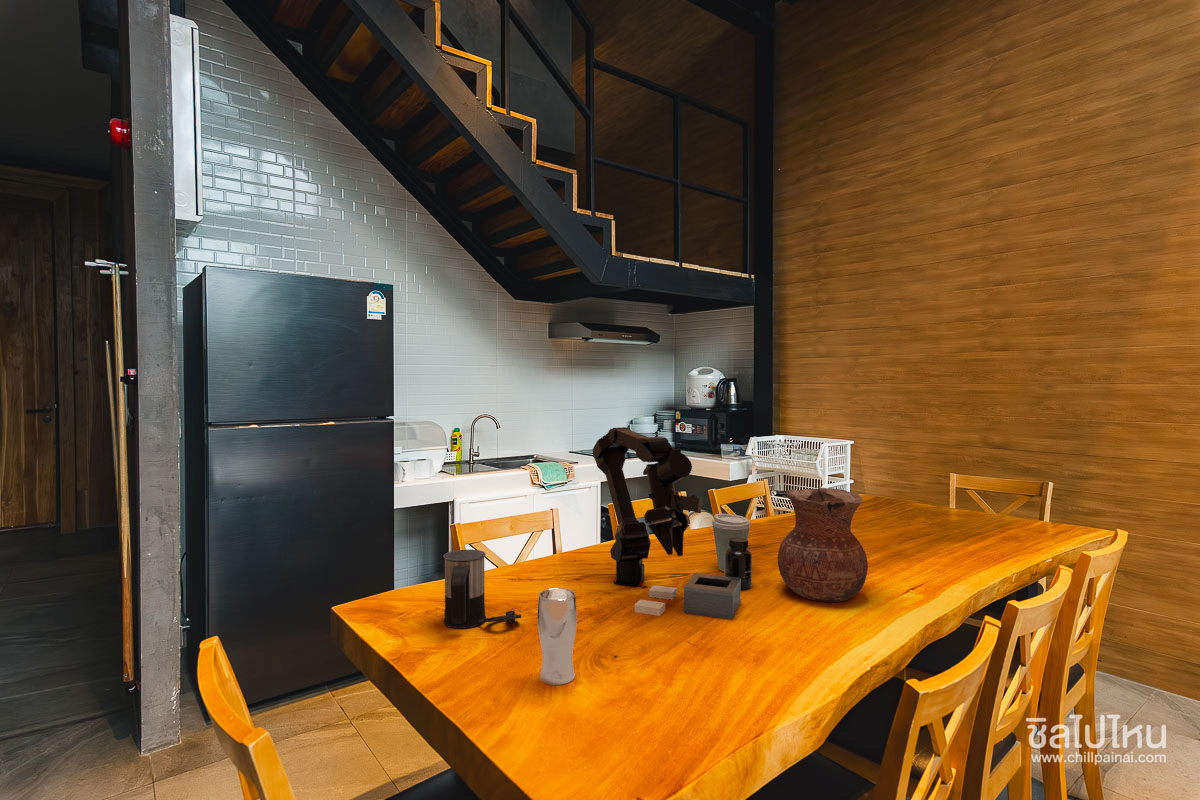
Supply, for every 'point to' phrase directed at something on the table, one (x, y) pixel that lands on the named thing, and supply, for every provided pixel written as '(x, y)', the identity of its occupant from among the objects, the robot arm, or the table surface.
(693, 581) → the grey hollow block
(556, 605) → the beer glass
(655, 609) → the block
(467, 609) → the milk frother
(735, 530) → the disposable coffee cup
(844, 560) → the brown clay vase
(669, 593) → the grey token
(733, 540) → the supplement bottle
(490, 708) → the table surface
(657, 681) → the table surface
